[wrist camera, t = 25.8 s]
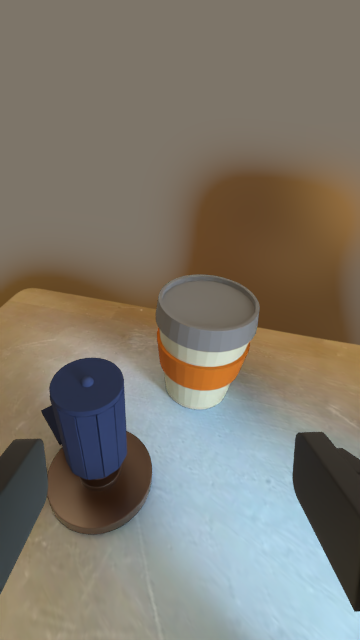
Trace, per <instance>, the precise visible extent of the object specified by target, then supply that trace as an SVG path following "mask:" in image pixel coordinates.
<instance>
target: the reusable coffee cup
mask: <svg viewBox="0 0 360 640" xmlns="http://www.w3.org/2000/svg"><path fill="white" fill-rule="evenodd" d="M259 309H260V308H259V303H258V300H257V299H256V297H255V296H254V295H253V293H252V292H251V291H249V290H248V289H247V288H246V287H244V286H242V285H241V284H239V283H237V282H235V281H232V280H229V279H226V278H223V277H218V276H212V275H188V276H183V277H179V278H176V279H174V280H172V281H170V282H168V283H167V284H166V285H165V286H164V287H163V288H162V289H161V290H160V293H159V297H158V304H157V309H156V322H157V325H158V327H159V328H158V331H157V341H158V349H159V357H160V364H161V367H162V369H163V371H164V374H165V383H166V389H167V392H168V394H169V395H170V397H171V398H172V399H173V400H174V401H175V402H177V403H178V404H180V405H182V406H184V407H187V408H190V409H208V408H211V407H214V406H215V405H217V404H219V403H220V402H221V401H222V400H223V398H224V396H225V394H226V392H227V390H228V388H229V385H230V383H231V382H232V381H233V380H234V379H235V378H236V376H237V375H238V373H239V371H240V369H241V366H242V364H243V362H244V360H245V358H246V356H247V353H248V351H249V347H250V341H251V340H252V339H253V337H254V335H255V334H256V330H257V324H258V316H259Z"/></svg>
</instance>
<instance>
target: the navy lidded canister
mask: <svg viewBox="0 0 360 640" xmlns="http://www.w3.org/2000/svg"><path fill="white" fill-rule="evenodd" d="M50 400H51V404H52V405H51V406H49V407H47V408H45V409H43V410H41V411H42V414H43V416H44V418H45V419H46V421H47V423H48V425H49V426H50V428H51V430H52V432H53V434H54V435H55V437H56V439H57V441H58V443H59V444H60V445H61V444H62V446H63V450H64V454H65V458H66V462H67V464H68V465H69V467H70V469H71V471H72V473H74V474H75V475H77V476H80V477H82V478H84V479H86V480H87V479H88V480H92V479H101V478H104V477H107V476H108V475H110V474H112V473H113V472H115V471H116V470H118V469H119V468H120V466H121V464H122V463H123V461H124V459H125V457H126V455H127V438H126V417H125V396H124V379H123V374H122V372H121V370H120V369H119V368H118V367H117V366H116V365H115V364H114V363H112V362H110V361H108V360H105V359H100V358H84V359H79V360H76V361H73V362H71V363H69V364H67V365H65V366H64V367H62V368H61V369H60V370H59V371H58V372H57V373H56V374H55V375H54V377H53V379H52V381H51V383H50ZM118 467H119V468H118Z"/></svg>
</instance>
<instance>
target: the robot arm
mask: <svg viewBox="0 0 360 640" xmlns="http://www.w3.org/2000/svg"><path fill="white" fill-rule="evenodd" d="M293 485H294V490H295V493H296V496H297V498H298V500H299V502H300V504H301V506H302V508H303V510H304V512H305V514H306V516H307V518H308V520H309V522H310V524H311V526H312V528H313V530H314V532H315V534H316V536H317V538H318V540H319V542H320V544H321V546H322V548H323V550H324V552H325V554H326V556H327V558H328V560H329V562H330V564H331V566H332V568H333V570H334V572H335V573H336V575H337V577H338V579H339V581H340V583H341V585H342V587H343V589H344V591H345V593H346V595H347V597H348V599H349V601H350V603H351V605H352V607H353V609H354V611H360V460H359V459H358V458H357V457H355V456H354V455H352V454H350V453H349V452H347V451H346V450H344V449H343V448H336V447H335V446H334V444H333V443H332V442H331V441H330V440H329V438H328V437H327V436H326V435H325V434H324V433H323V432H304V433H297V435H296V439H295V451H294V464H293ZM47 492H48V477H47V468H46V460H45V451H44V444H43V441H42V440H41V439H16V440H14V441H13V442H12V443H11V444H10V445H9V447H8V448H7V449H6V450H5V452H4V453H3V454H2V455H1V457H0V594H1V592H2V590H3V588H4V586H5V584H6V582H7V580H8V578H9V575H10V573H11V571H12V569H13V567H14V565H15V563H16V561H17V559H18V557H19V555H20V553H21V551H22V549H23V547H24V545H25V543H26V541H27V539H28V536H29V534H30V532H31V530H32V528H33V526H34V524H35V522H36V520H37V518H38V516H39V514H40V512H41V510H42V508H43V506H44V503H45V501H46V497H47Z"/></svg>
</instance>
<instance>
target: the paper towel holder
mask: <svg viewBox="0 0 360 640" xmlns="http://www.w3.org/2000/svg"><path fill="white" fill-rule="evenodd" d="M126 438H127V455H126V457H125V459H124V461H123V463H122V464H121V466H120V468H119V467H118V468H119V469H118V470H116V471H115V472H113V473H112V474H110V475H108V476H107V477H104V478H101V479H92V480H88V479H87V480H86V479H84V478H82V477H80V476H77V475H75V474H74V473H72V471H71V469H70V467H69V465H68V464H67V462H66V458H65V454H64V450H63V447H62V448H61V449H60V451H59V452H58V453H57V455H56V456H55V458H54V460H53V461H52V464H51V466H50V468H49V471H48V475H47V477H48V492H47V496H48V500H49V503H50V506H51V508H52V510H53V513H54V514H55V516H56V517H57V519H58V520H59V521H60V522H61V523H62V524H63V525H65V526H66V527H67V528H69V529H71V530H73V531H76V532H79V533H83V534H102V533H106V532H110V531H112V530H115V529H117V528H119V527H121V526H122V525H124V524H125V523H127V522H128V521H129V520H131V519H132V518H133V517H134V516H135V515H136V514H137V513H138V511H139V510H140V509H141V507H142V506H143V504H144V503H145V501H146V499H147V497H148V494H149V491H150V487H151V480H152V464H151V459H150V456H149V453H148V451H147V449H146V447H145V446H144V444H143V443H142V442H141V441H140V440H139V439H138V438H137V437H136V436H134V435H133V434H131V433H129V432H127V431H126Z"/></svg>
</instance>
